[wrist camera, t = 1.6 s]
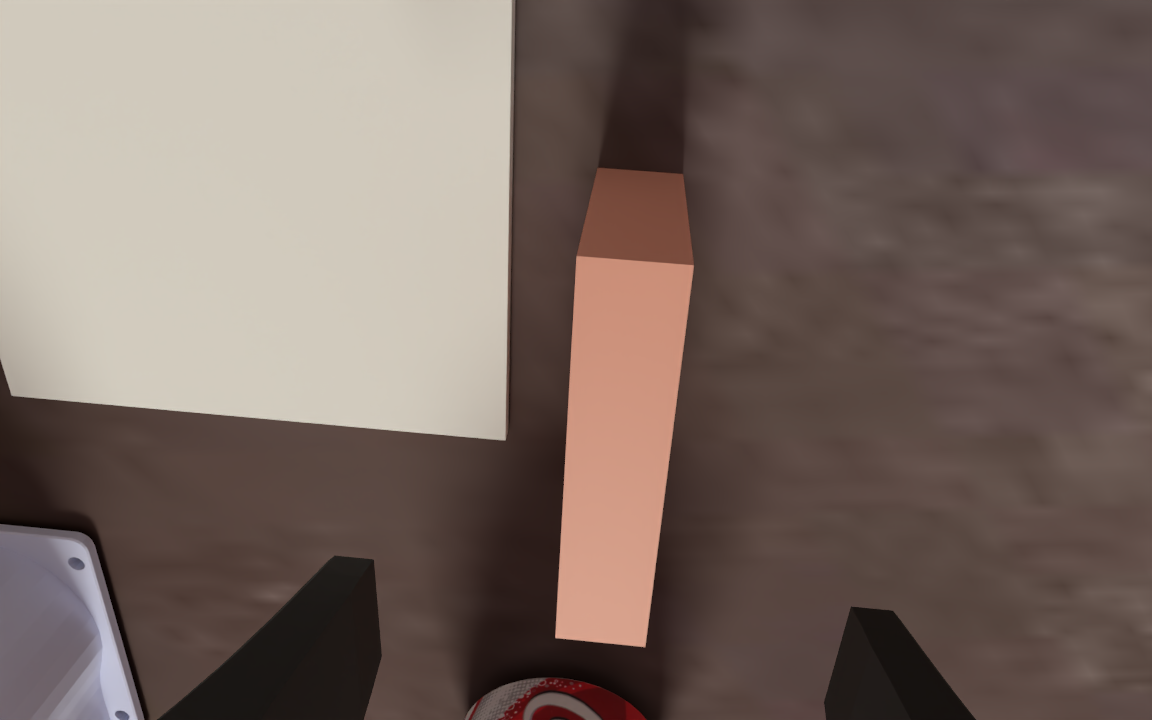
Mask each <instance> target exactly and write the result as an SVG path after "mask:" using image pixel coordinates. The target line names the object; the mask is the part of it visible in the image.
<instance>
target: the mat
mask: <svg viewBox="0 0 1152 720" xmlns="http://www.w3.org/2000/svg"><path fill="white" fill-rule="evenodd" d="M514 57H515V0H0V360H1V363H2V366H3V369H4V373H5V376H6V379H7V382H8V385H9V389H10V392H11V395H12V396H19V397H30V398H41V399H52V400H63V401H74V402H85V403H96V404H107V405H118V406H129V407H140V408H151V409H163V410H174V411H185V412H196V413H207V414H218V415H229V416H240V417H251V418H262V419H273V420H284V421H295V422H306V423H317V424H328V425H339V426H350V427H361V428H372V429H383V430H394V431H405V432H416V433H428V434H439V435H450V436H461V437H472V438H483V439H494V440H505V441H506V437H507V434H508V424H509V363H510V302H511V240H512V179H513V118H514Z"/></svg>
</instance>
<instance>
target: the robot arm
mask: <svg viewBox="0 0 1152 720" xmlns="http://www.w3.org/2000/svg"><path fill="white" fill-rule="evenodd" d="M381 656H382V654H381V642H380V630H379V618H378V605H377V593H376V581H375V569H374V560H373V559H363V558H352V557H342V556H334V557H333V558H331V559H330V560H329V561H328V562H327V563H326V564H325V565H324V566H323V567H322V568H321V569H320V570H319V571H318V572H317V573H316V574H315V575H314V576H313V577H312V578H311V579H310V580H309V581H308V582H307V583H306V584H305V585H304V586H303V587H302V588H301V589H300V590H299V591H298V592H297V593H296V594H295V595H294V596H293V597H292V598H291V599H290V600H289V601H288V602H287V603H286V604H285V605H284V606H283V607H282V608H281V609H280V610H279V611H278V612H277V613H276V614H275V615H274V616H273V617H272V618H271V619H270V620H269V621H268V622H267V623H266V624H265V625H264V626H263V627H262V628H261V629H260V630H259V631H257V632H256V633H255V634H254V635H253V636H252V637H251V638H250V639H249V640H248V641H247V642H246V643H245V644H244V645H243V646H242V647H241V648H240V649H238V650H237V651H236V652H235V653H234V654H233V655H232V656H231V657H230V658H229V659H228V660H227V661H226V662H224V663H223V664H222V665H221V666H220V667H219V668H218V669H216V670H215V671H214V672H213V673H212V674H211V675H210V676H208V677H207V678H206V679H205V680H204V681H203V682H201V683H200V684H199V685H198V686H197V687H196V688H194V689H193V690H192V691H191V692H190V693H189V694H188V695H186V696H185V697H184V698H183V699H182V700H181V701H179V702H178V703H177V704H176V705H175V706H173V707H172V708H171V709H170V710H169V711H167V712H166V713H165V714H164V715H162V716H161V717H160V718H159V719H157V720H364V716H365V713H366V710H367V706H368V703H369V699H370V696H371V693H372V689H373V686H374V682H375V678H376V675H377V671H378V667H379V664H380V660H381ZM824 704H825V713H826V720H976V719H975V718H974V717H973V715H972V714H971V713H970V712H969V710H968V709H967V708H966V707H965V705H964V704H963V703H962V702H961V700H960V699H959V698H958V696H957V695H956V694H955V693H954V691H953V690H952V689H951V687H950V686H949V685H948V683H947V682H946V681H945V679H944V678H943V677H942V675H941V674H940V673H939V671H938V670H937V669H936V667H935V666H934V665H933V663H932V662H931V661H930V659H929V658H928V657H927V655H926V654H925V653H924V651H923V650H922V649H921V647H920V646H919V645H918V643H917V642H916V641H915V639H914V638H913V637H912V635H911V634H910V632H909V631H908V630H907V628H906V627H905V626H904V624H903V623H902V622H901V620H900V619H899V618H898V617H897V615H896V614H895V613H894V612H893V611H889V610H879V609H869V608H859V607H851V609H850V612H849V616H848V619H847V623H846V626H845V630H844V634H843V637H842V641H841V644H840V648H839V651H838V655H837V658H836V662H835V666H834V669H833V673H832V676H831V680H830V683H829V687H828V691H827V694H826V698H825V701H824ZM0 720H144V716H143V713H142V709H141V706H140V702H139V699H138V695H137V692H136V688H135V685H134V681H133V678H132V674H131V671H130V667H129V664H128V660H127V657H126V653H125V650H124V646H123V643H122V639H121V636H120V632H119V628H118V625H117V621H116V618H115V614H114V611H113V607H112V604H111V600H110V597H109V593H108V590H107V586H106V583H105V579H104V576H103V572H102V569H101V565H100V562H99V558H98V555H97V551H96V548H95V545H94V543H93V541H92V539H90V538H89V537H88V536H87V535H85V534H83V533H80V532H75V531H65V530H55V529H45V528H35V527H25V526H14V525H4V524H0Z"/></svg>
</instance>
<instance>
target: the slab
mask: <svg viewBox="0 0 1152 720" xmlns="http://www.w3.org/2000/svg"><path fill="white" fill-rule="evenodd" d="M693 269H694V262H693V253H692V245H691V236H690V228H689V220H688V211H687V203H686V195H685V186H684V178H683V174H676V173H663V172H649V171H636V170H622V169H608V168H597V172H596V177H595V181H594V185H593V189H592V193H591V198H590V202H589V206H588V210H587V214H586V219H585V223H584V227H583V231H582V235H581V240H580V244H579V248H578V252H577V257H576V275H575V293H574V311H573V329H572V347H571V365H570V383H569V401H568V419H567V437H566V455H565V473H564V491H563V509H562V527H561V545H560V562H559V580H558V598H557V616H556V634H555V638H561V639H571V640H580V641H590V642H600V643H609V644H619V645H629V646H639V647H645V646H646V638H647V630H648V622H649V614H650V607H651V599H652V591H653V583H654V575H655V567H656V559H657V552H658V544H659V536H660V528H661V520H662V512H663V504H664V497H665V489H666V481H667V473H668V465H669V457H670V450H671V442H672V434H673V426H674V418H675V410H676V402H677V395H678V387H679V379H680V371H681V363H682V355H683V347H684V340H685V332H686V324H687V316H688V308H689V300H690V292H691V285H692V277H693Z"/></svg>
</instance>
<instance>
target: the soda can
mask: <svg viewBox="0 0 1152 720" xmlns="http://www.w3.org/2000/svg"><path fill="white" fill-rule="evenodd" d="M464 720H646V719H645V717H644V716H643V715H642V714H641V713H640V712H639V711H638V710H637V709H636V708H635V707H633V706H632V705H631V704H630V703H629V702H627V701H626V700H624V699H622V698H621V697H619V696H618V695H616V694H614V693H612V692H610V691H608V690H606V689H603V688H601V687H599V686H595V685H592V684H589V683H586V682H582V681H578V680H573V679H567V678H533V679H526V680H520V681H517V682H513V683H509V684H506V685H504V686H501V687H499V688H497V689H494V690H493V691H491V692H489V693H488V694H486V695H485V696H483V697H482V698H481V699H480V700H478V701H477V702H476V703H475V704H474V705H473V706H472V708H471V709H470V710H469V712H468V713H467V715H466V717H465V719H464Z"/></svg>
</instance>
